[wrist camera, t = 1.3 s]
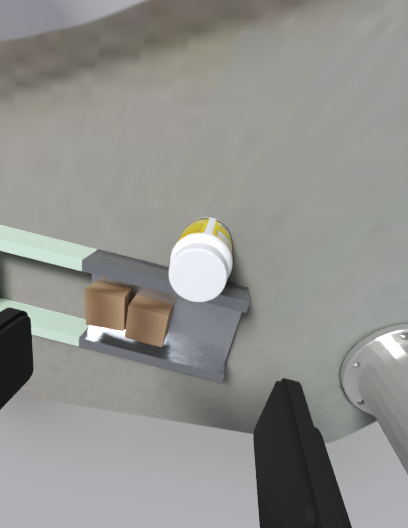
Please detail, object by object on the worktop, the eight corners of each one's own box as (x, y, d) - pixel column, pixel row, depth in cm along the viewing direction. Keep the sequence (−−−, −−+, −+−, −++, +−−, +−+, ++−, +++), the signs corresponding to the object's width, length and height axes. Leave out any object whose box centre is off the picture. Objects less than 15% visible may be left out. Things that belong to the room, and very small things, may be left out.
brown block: (173, 303, 26) (168, 315, 24) (167, 333, 28) (161, 347, 26) (136, 294, 26) (128, 305, 24) (132, 324, 28) (124, 337, 26)
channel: (248, 287, 26) (250, 302, 23) (222, 362, 30) (221, 382, 27) (98, 249, 26) (82, 259, 23) (92, 329, 30) (78, 346, 27)
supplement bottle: (178, 255, 25) (155, 296, 18) (189, 210, 24) (169, 233, 16) (224, 268, 25) (221, 315, 18) (238, 224, 24) (242, 254, 16)
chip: (132, 287, 26) (124, 297, 24) (131, 319, 28) (123, 331, 26) (95, 280, 26) (84, 290, 24) (96, 312, 28) (86, 324, 26)
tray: (98, 249, 26) (82, 259, 23) (92, 329, 30) (78, 346, 27) (-20, 219, 26) (-49, 226, 23) (-9, 303, 30) (-34, 317, 27)
